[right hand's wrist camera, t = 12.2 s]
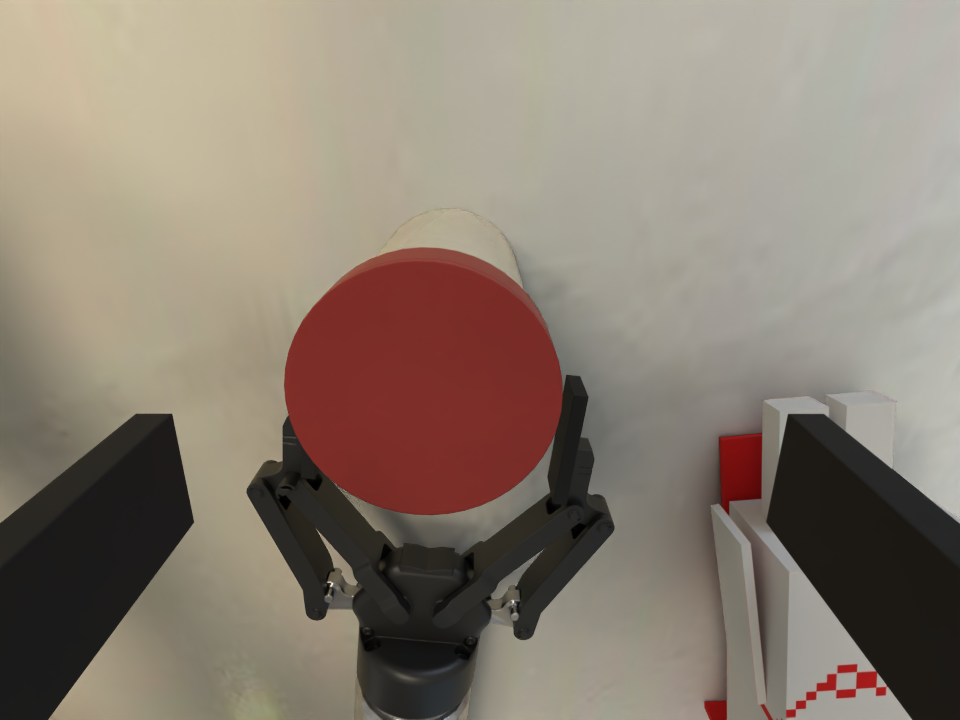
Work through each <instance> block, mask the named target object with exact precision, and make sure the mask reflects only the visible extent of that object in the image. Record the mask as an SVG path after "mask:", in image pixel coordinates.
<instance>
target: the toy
mask: <svg viewBox="0 0 960 720" xmlns="http://www.w3.org/2000/svg"><path fill="white" fill-rule="evenodd" d="M896 404H897V401H895V400H892V399H890V398H888V397H885V396H883V395H881V394H879V393H876V392H874V391H862V392H851V393H839V394H827V395H826V399H825V405H824V404H823V403H821V402H819V401H817V400H815V399H813V398H812V397H810V396H803V397H792V398H780V399H768V400H763V415H762V433H758V434H748V435H738V436H729V437H719V450H720V475H721V499H722V507H721V506H720V504H714V505H710V507H711V515H712V523H713V532H714V540H715V548H716V557H717V565H718V573H719V582H720V590H721V598H722V607H723V615H724V623H725V632H726V640H727V701H711V702H704V708H705V710H706V712H707V714H708V717H709V719H710V720H912V719H911V718H910V716H909V715H908V713H907V712H906V711H905V709H904V708H903V707H902V705H901V704H900V703H899V701H898V700H897V699H896V697H895V696H894V695H893V693H892V692H891V691H890V689H889V688H888V686H887V685H886V684H885V682H884V681H883V680H882V678H881V677H880V676H879V674H878V673H877V672H876V670H875V669H874V668H873V666H872V665H871V664H870V662H869V661H868V659H867V658H866V657H865V655H864V654H863V653H862V651H861V650H860V649H859V647H858V646H857V645H856V643H855V642H854V641H853V639H852V638H851V637H850V635H849V634H848V632H847V631H846V630H845V628H844V627H843V626H842V624H841V623H840V622H839V620H838V619H837V618H836V616H835V615H834V614H833V612H832V611H831V610H830V608H829V607H828V605H827V604H826V603H825V601H824V600H823V599H822V597H821V596H820V595H819V593H818V592H817V591H816V589H815V588H814V587H813V585H812V584H811V583H810V581H809V580H808V578H807V577H806V576H805V574H804V573H803V572H802V570H801V569H800V568H799V566H798V565H797V564H796V562H795V561H794V560H793V558H792V557H791V556H790V554H789V553H788V551H787V550H786V549H785V547H784V546H783V545H782V543H781V542H780V541H779V539H778V538H777V537H776V535H775V534H774V533H773V531H772V530H771V528H770V527H769V526H768V524H767V523H766V520H767V515H768V510H769V505H770V500H771V495H772V490H773V485H774V480H775V475H776V470H777V465H778V460H779V455H780V451H781V446H782V441H783V436H784V431H785V426H786V421H787V416H788V414H825V415H826V416H827V417H828V418H830V419H831V420H832V421H833V422H835V423H836V424H837V425H838V426H840V427H841V428H842V429H843V430H845V431H846V432H847V433H848V434H850V435H851V436H852V437H853V438H854V439H856V440H857V441H858V442H859V443H861V444H862V445H863V446H864V447H866V448H867V449H868V450H869V451H871V452H872V453H873V454H874V455H876V456H877V457H878V458H879V459H881V460H882V461H883V462H884V463H885V464H887V465H888V466H889V467H890V468H892V466H893V450H894V435H895V419H896ZM926 497H927V496H926ZM929 499H930V498H929ZM930 500H931V499H930ZM931 501H932V500H931ZM933 502H934V501H933ZM934 503H935V502H934ZM935 504H936V505H938V504H937V503H935ZM938 506H939V507H940V508H941V509H942V510H944V511H945V512H946V513H947V514H949V515H950V516H951V517H952V518H954V519H955V520H956V521H957V522H959V523H960V519H959V518H957V517H956V516H954V515H953V514H951V513H950V512H948V511H947V510H946V509H944V508H943V507H941V506H940V505H938Z"/></svg>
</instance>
